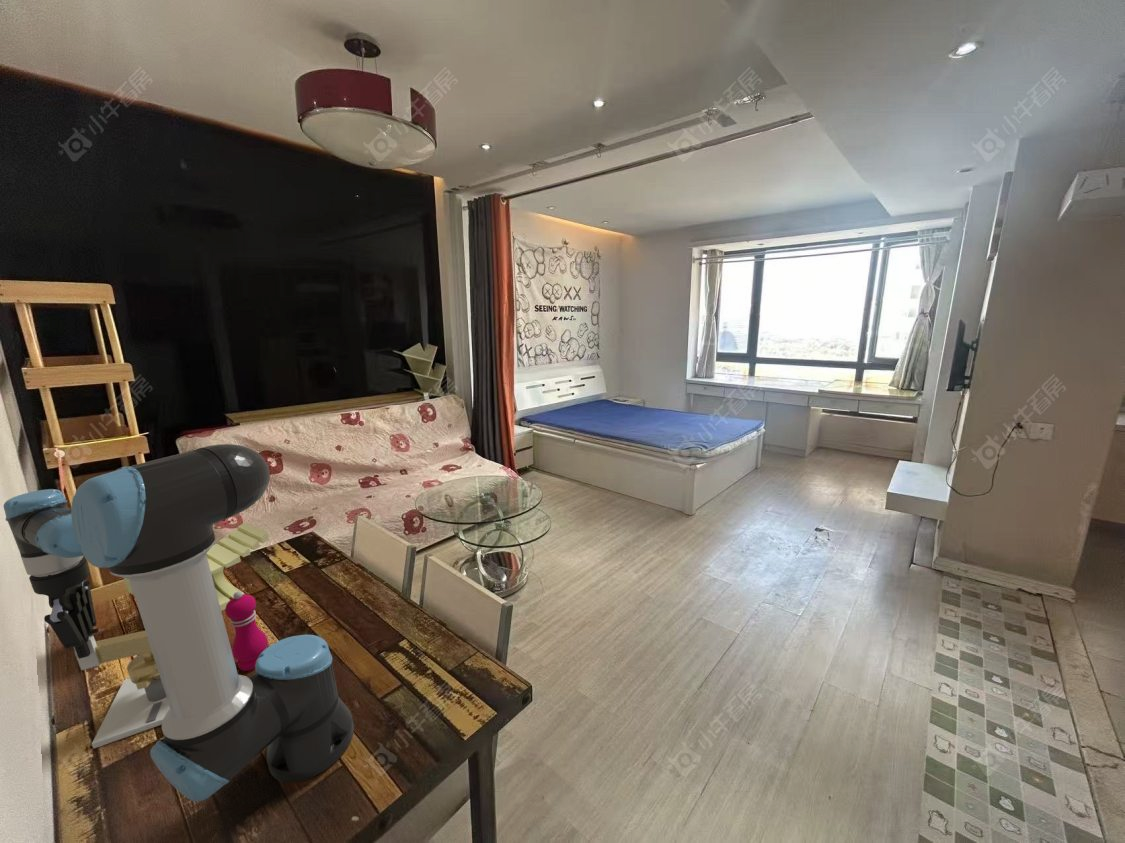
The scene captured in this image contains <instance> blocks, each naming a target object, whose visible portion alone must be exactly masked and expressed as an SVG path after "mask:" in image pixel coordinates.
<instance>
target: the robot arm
mask: <svg viewBox="0 0 1125 843" xmlns="http://www.w3.org/2000/svg"><path fill="white" fill-rule="evenodd" d="M270 474H271V473H270V467H269V465H268V463H267V461H266V459H265V458H264V457H263V456H262V455H261V454H260V453H258V452H257V451H255V450H254V449H252V448H250V447H248V446H244V445H239V444H232V443H230V444H229V443H223V444H222V443H221V444H215V445H214V444H213V445H207V446H202V447H198V448H196V449H193V450H189V451H185V452H182V453H177V454H174V455H173V454H172V455H170V456H166V457H162V458H158V459H157V458H156V459H154V460H153V459H152V460H150V461H144V462H141V463H138V464H133V465H129V466H122V467H119V468H117V469H116V470H113V471H111V472H107V473H104V474H100V475H97V476H93V477H91V478H88V479H87V480H84V482H82V483H81V484H80V485H79V486H78V488H77V489H76V490H75V493H74V494H73V497H72V501H71V508H70V507H69V506H68V500H67V499H66V497H65V495H64V494H63V492H62V491H61V490H59V489H54V488H48V489H39V490H35V491H29V492H26V493H23V494H19V495H18V494H17V495H16V496H13V497H11V498H9V499H7V500H6V501H5V502H4V504H3V509H4V514H5V521H6V522H7V524H8V526H9V528H10V530H11V534H12V536H13V538H14V541H15V544H16V546H17V548H18V551H19V554H20V557H21V561H22V564H23V567H24V568H25V572H26V574H27V575H28V576H29V578H28V579H29V582H30V584H31V587H32V590H33V592H34V593H35V594H37V595H43V596H46V597H48V605H49V607H50V608H51V609H52V610H51V613H50V614H47V615H44V619H43V620H44V622H45V623H47V624H48V625H49V626H50V627H51V628H52V630H53V632H54V633H55V635H56V637H57V638H58V640H59V641H60V642H61V643H60V644H62V646H63V648H64V649H65V650H68V649H71V648H73V650H74V652H75V653H76V655H75V657H76V656H77V658H76V660H77V659H78V661H79V663H78V665H79V664H80V666H79V668H80V667H81V668H80V670H81V671H85V670H87V669H91V668H95V667H98V666H100V665H101V663H100V660H99V658H98V655H97V652H96V649H95V647H96V646H97V645H96V642H95V641H96V639H95V637H94V634H97V633H99V630H100V629H99V627H98V628H97V627H96V626H97V623H98V622H97V618H96V613H95V607H94V603H93V602H94V601H93V596H92V590H91V584H92V583H91V580H87V579H88V578H89V577H90V570H89V567H88V564H87V563H89V564H90V565H91V566H94V567H96V568H100V569H104V568H107V569H108V571H109V573H110V575H112V576H115V577H118V578H123V579H124V578H127V579H129V581H130V584H131V587H132V590H133V593H134V595H133V597H134V598H135V599H134V600H135V602H136V605H137V606H136V607H137V608H138V612H139V615H140V618H141V621H142V625H143V627H144V629H145V630H144V631H146V634H147V637H148V640H149V643H150V646H151V650H152V653H153V656H154V659H155V662H156V665H157V668H158V672H159V675H160V678H161V681H162V684H163V687H164V690H165V693H166V697H167V700H168V703H169V706H170V709H169V710H168V712H167V713H166V715H165V717H164V719H163V721H162V725H161V732H162V734H163V738H162V739H159V740H157V741H156V743H155V744H154V745H153V746H152V747H151V749H150V752H149V753H150V757H151V760H152V761H153V763H154V765H155V766H156V768H157V769H158V770H159V771H160V773H161V774H162V775H163V777H165V779H166V780H167V781H168V782H169V783H170V785H172V786H173V788H175V790H176V791H178V792H179V793H180V794H182V795H183V797H185V798H186V799H189V801H192V802H197V803H198V802H202V801H205V800H207V799H209V798H210V797H211V796H212V795H214V794H215V793H216V792H218V791H219V790H221V788H223V786H225V785H227V784H228V783H230V782H231V780H232V779H233V778H234V777H236V775H237V774H239V773H240V772H241V771H242V770H243V769H244V768H245V767H246V766H247V765H249V764H250V763H251V762H252V761H253V760H254V759H256V757H258V756H259V755H260V754H261V753H262V752H263V751H264V750H265V749H266V748H267V749H266V763H267V766H268V771H269V773H270V774H271V776H272V777H273V779H276V780H277V781H278V782H282V783H286V784H287V783H288V784H290V783H300V782H304V781H306V780H307V781H308V780H310V779H312V778H314V777H316V776H318V775H320V774H322V773H323V772H324V771H326V770H328V769H329V768H330V767H332V766H333V765H334V764H336V762H337V761H338V760H339V759H340V758H341V757H342V756H343V755H344V754H345V752H346V750H347V749H348V747H349V746H350V745H351V742H352V739H353V736H354V733H355V724H354V719H353V715H352V712H351V710H350V709H349V708H348V707H347V705H346V704H345V703H344V701H343V700H342V699H341V697H339V693H338V688H337V682H336V677H335V672H334V671H335V670H334V666H333V655H332V654H331V651H330V648H329V645H328V643H327V642H326V640H325V639H324V638H322V637H321V636H319V635H315V634H301V635H293V636H289V637H285V638H283V639H280V640H278V641H276V642H274V643H272V644H270V645H269V646H267V647H266V649H265V650H264V651H263V652H262V653H261V654H260V655H259V658H258V659H257V661H256V665H255V669H254V670H255V672H253V673H252V674H251V675H250V676H246V675H242V674H239V673H238V670H237V665H236V662H235V658H234V656H233V652H232V647H231V643H230V640H229V639H230V638H229V635H228V632H227V628H226V624H225V621H224V616H223V613H222V611H221V608H220V605H219V601H218V597H217V593H216V590H215V586H214V582H213V578H212V574H211V571H210V567H209V563H208V559H207V555H206V553H207V552H208V551H209V549H210V548H211V547H212V546H213V545H214V544H216V536H215V532H214V525H215V524H217V523H219V522H222V521H224V520H227V519H230V518H232V517H234V516H236V515H239V514H240V513H242V512H244V511H245V510H247V509H248V508H250V507H252V506H253V505H254V504H255V503H256V502H258V501H259V500H260V499H261V498H262V496H264V494H265V492H266V491H267V489H268V487H269V485H270V484H269V483H270V482H271V481H270V480H271V475H270ZM83 558H84V559H83ZM86 561H87V562H86ZM95 627H96V628H95ZM75 653H74V654H75ZM78 661H77V662H78Z"/></svg>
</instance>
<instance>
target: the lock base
mask: <svg viewBox="0 0 1125 843" xmlns="http://www.w3.org/2000/svg"><path fill="white" fill-rule="evenodd" d="M169 709H170V706H169V703H168V700H167V697H166V693H165V690H164V687H163V684H162V681H161V678H159V679H157V680H154V681H152V682H150V684H149V685H148V687H146V688H143V689H139V690H138V689H137V686H136V684H134V683H132V682H131V679H130V677H129V678H126V679H123V681H122V683H121V685H120V688H119V689H118V692H117V693H116V696H115V697H114V700H112V704H111V705H110V707H109V708H108V711H107V713H106V715H105V717H104V719H103V721H102V723H101V725H100V726H99V729H98V730H97V733H96V734H95V736H94V739H93V741H92V743H91V746H92V748H93V749H97V748H100V747H103V746H105V745H109V744H111V743H114V742H117V741H119V740H122V739H125V738H128V737H131V736H133V735H135V734H138V733H139V734H140V733H142V732H144V731H147V730H148V731H149V730H150V729H153V728H155V727H159V726H162V721H163V719H164V717H165V715H166V713H167V712H168V710H169Z"/></svg>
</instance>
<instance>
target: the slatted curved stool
mask: <svg viewBox="0 0 1125 843" xmlns="http://www.w3.org/2000/svg"><path fill="white" fill-rule="evenodd" d="M227 536H228V537H227ZM227 536H225V537H223V538H221V539H219V540H218V543H216V542H215V543H214V545H213V546H212V547H211V548H210V549H209V551H208V552H207V553H206V555H207V559H208V563H209V567H210V571H211V574H212V578H213V582H214V586H215V590H216V593H217V597H218V601H219V605H220V608H221V612H222V611H224V610H225V608H226V605H227V603H228V602H229V601H230V600H231V599H233V598H234V597H233V595H234V593H235V592H238V591H240V592H242V594H245V593H244V592H243V591H241V590H240V589H239V588H237V587H236V586H234V585H233V584H232V583H231V582H230V581H228V580H227V579H226V577H225V574H224V568H227V569H228V568H230V567H232V566H235V565H236V564H239V563H241V562H242V560H241V557H242V558H245V557H248V556H250V555H251V550H252V551H254V550H256V549H259V548H261V546H260V543H262V544H264V543H266V542H268V541H270V538H269V534H268V531H265V530H264V529H262V528H259V527H257V526H254V525H253V524H250V523H248V522H244V523H242V524H240V525H238V526H237V529H235V530H232V531H230V532H229V533H228V535H227ZM123 581H124V584H125V588H126V590H127V591H128V593H130V594H131V595H132V596H134V593H133V590H132V587H131V584H130V581H129V579H127V578H123Z"/></svg>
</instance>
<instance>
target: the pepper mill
mask: <svg viewBox="0 0 1125 843" xmlns="http://www.w3.org/2000/svg"><path fill="white" fill-rule="evenodd" d="M240 591H241V590H240ZM240 591H238V592H235V593H234V595H233V597H234V598H233V599H231V600H230V601H229V602H228V603H227V605H226V608H225V609H224V610H225V613H224V614H225V616H226V617H227V618H229V619H230V620H229V621H230V624H231V626H232V627H234V631H235V633H234V635H235V637H234V640H233V644H232V647H231V650H232V654H233V658H234V660H237V666H238V669H239V670H241V671H244V672H245V671H246V672H248V671H252V670H255V665H256V661H257V659H258V658H259V655H260V654H261V653H262V652H263V651H264V650H265V649H266V648H267V647H268V645H269V639H268V636H267V635H266V633H265V632H263V630H261V629H260V628H259V626H258V625H257V622H256V618H257V613H256V610H255V609H256V607H257V602H256V598H254V596H252V595H251V594H242V592H243V591H242V592H240Z"/></svg>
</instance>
